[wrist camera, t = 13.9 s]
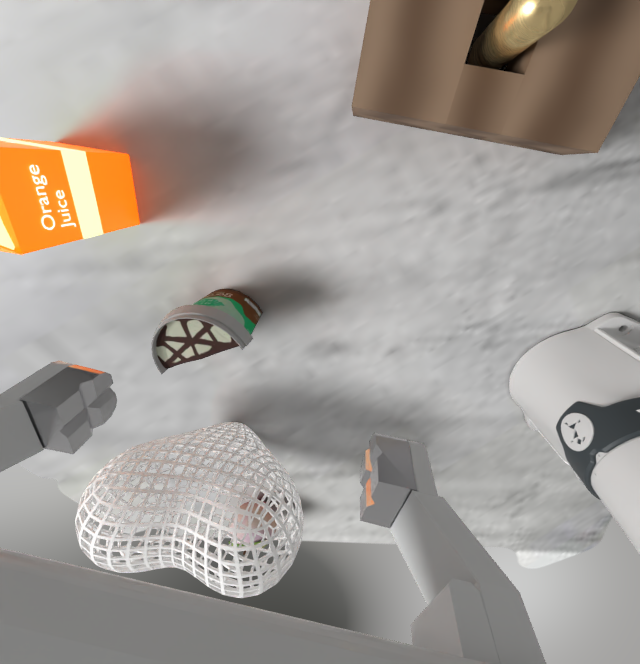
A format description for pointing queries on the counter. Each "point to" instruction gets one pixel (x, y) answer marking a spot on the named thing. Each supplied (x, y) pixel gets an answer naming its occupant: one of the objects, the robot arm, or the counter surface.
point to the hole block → (499, 74)
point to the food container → (205, 328)
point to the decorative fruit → (253, 525)
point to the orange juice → (61, 194)
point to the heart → (169, 561)
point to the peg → (517, 30)
